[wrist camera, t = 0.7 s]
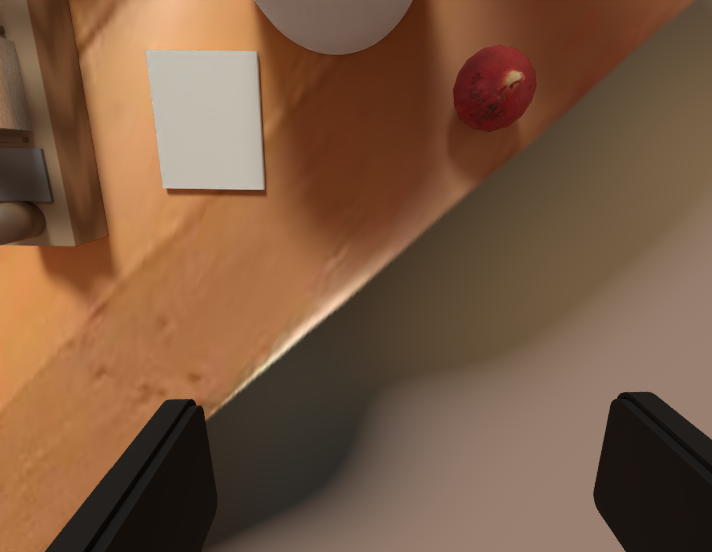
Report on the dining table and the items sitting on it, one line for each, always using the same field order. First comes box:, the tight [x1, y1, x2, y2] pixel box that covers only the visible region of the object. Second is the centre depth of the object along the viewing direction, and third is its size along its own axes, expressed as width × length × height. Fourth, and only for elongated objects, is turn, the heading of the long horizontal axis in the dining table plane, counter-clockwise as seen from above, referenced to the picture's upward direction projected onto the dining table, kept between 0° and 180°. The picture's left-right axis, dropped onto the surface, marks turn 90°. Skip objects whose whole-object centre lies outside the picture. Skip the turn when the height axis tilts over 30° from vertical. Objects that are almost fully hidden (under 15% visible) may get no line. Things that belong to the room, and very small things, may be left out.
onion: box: [453, 45, 536, 132], centre depth 29 cm, size 6×6×8 cm
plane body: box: [0, 0, 108, 246], centre depth 29 cm, size 20×7×10 cm, turn 179°
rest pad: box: [146, 50, 265, 190], centre depth 34 cm, size 11×9×1 cm
